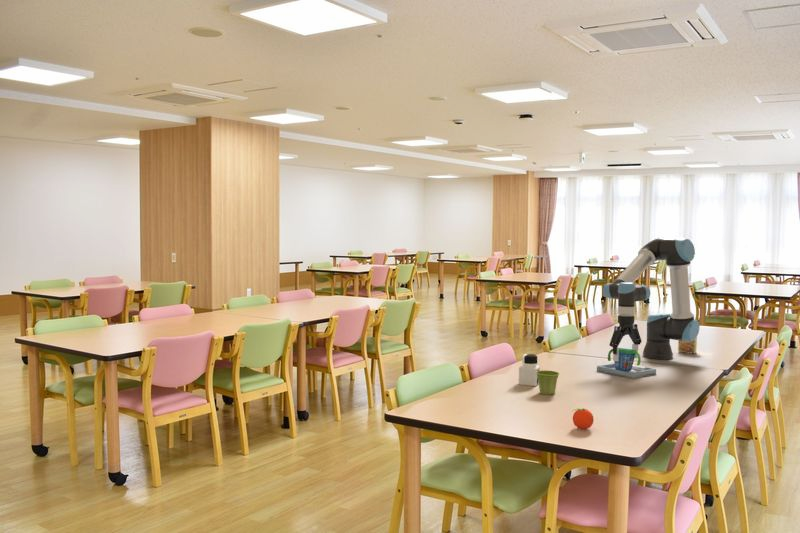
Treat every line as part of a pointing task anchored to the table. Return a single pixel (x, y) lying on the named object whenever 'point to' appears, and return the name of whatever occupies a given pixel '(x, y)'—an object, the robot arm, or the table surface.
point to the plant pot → (547, 381)
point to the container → (529, 370)
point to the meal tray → (634, 373)
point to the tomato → (583, 418)
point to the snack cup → (625, 359)
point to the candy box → (687, 346)
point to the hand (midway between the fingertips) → (625, 359)
